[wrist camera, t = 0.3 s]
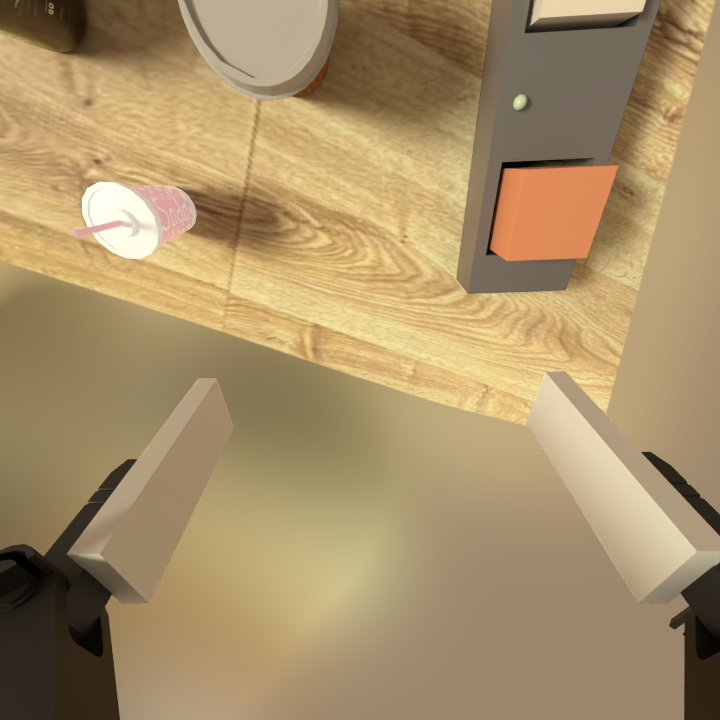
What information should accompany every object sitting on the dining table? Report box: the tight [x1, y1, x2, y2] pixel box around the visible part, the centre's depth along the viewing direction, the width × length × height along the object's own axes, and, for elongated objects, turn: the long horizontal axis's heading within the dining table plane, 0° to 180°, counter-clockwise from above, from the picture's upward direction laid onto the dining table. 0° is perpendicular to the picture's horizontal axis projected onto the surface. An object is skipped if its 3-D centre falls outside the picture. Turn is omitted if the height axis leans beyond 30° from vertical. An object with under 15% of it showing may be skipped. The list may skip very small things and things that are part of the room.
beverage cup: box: [71, 182, 197, 259], centre depth 28 cm, size 6×6×14 cm
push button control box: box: [457, 0, 661, 294], centre depth 26 cm, size 36×10×6 cm, turn 2°
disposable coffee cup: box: [178, 0, 339, 100], centre depth 22 cm, size 10×10×12 cm
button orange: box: [488, 165, 619, 261], centre depth 28 cm, size 7×7×5 cm
